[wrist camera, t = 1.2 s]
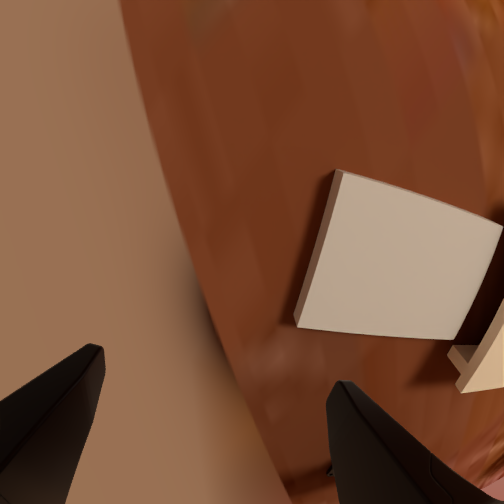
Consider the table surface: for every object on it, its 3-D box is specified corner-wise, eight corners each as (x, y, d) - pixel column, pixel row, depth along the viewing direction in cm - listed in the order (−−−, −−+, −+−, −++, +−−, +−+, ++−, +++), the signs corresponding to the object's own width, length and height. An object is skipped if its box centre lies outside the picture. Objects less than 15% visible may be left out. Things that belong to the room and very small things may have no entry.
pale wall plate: (442, 326, 24) (453, 339, 22) (292, 310, 22) (297, 327, 20) (487, 218, 20) (503, 226, 18) (333, 167, 19) (343, 172, 17)
